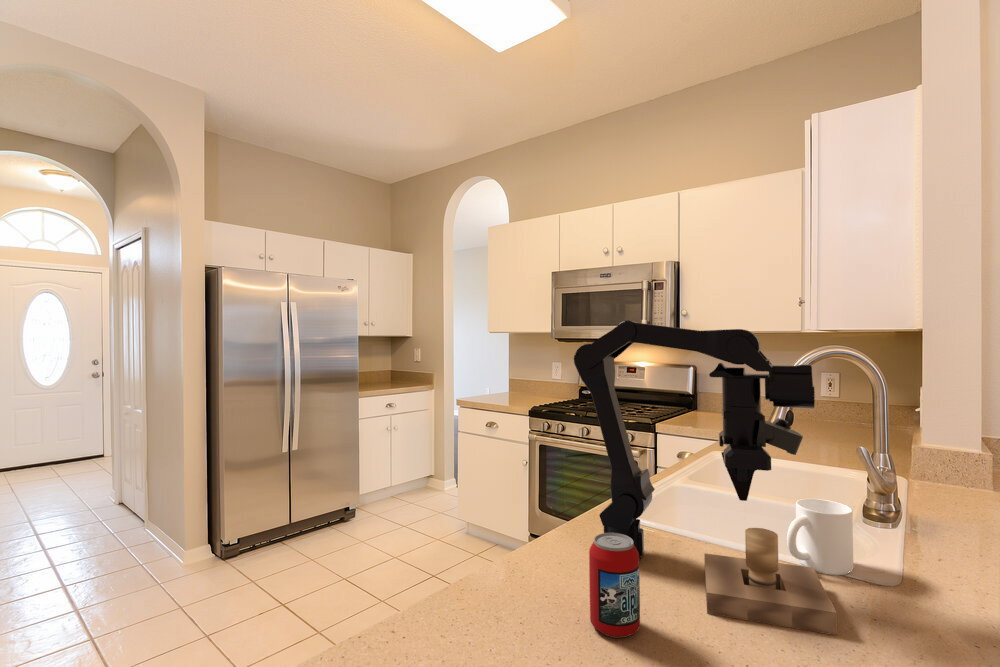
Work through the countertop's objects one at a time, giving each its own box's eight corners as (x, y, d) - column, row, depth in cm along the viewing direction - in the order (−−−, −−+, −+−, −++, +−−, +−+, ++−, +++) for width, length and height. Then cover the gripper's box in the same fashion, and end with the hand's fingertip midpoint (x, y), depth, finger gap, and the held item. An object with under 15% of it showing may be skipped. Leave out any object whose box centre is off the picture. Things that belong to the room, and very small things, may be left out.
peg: (748, 603, 75) (746, 536, 75) (745, 589, 79) (743, 526, 79) (781, 609, 73) (780, 540, 73) (776, 594, 77) (775, 529, 78)
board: (707, 613, 72) (706, 592, 72) (704, 570, 86) (704, 553, 86) (837, 635, 67) (836, 612, 67) (813, 586, 80) (812, 567, 80)
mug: (809, 583, 81) (808, 519, 81) (768, 561, 89) (767, 503, 89) (865, 572, 84) (864, 511, 84) (821, 552, 92) (820, 496, 92)
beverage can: (611, 647, 65) (610, 554, 65) (580, 621, 71) (579, 536, 71) (651, 633, 68) (649, 543, 68) (617, 609, 74) (616, 527, 74)
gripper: (810, 415, 71) (812, 526, 71) (786, 400, 89) (788, 488, 88) (724, 412, 75) (726, 516, 75) (718, 398, 93) (719, 482, 92)
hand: (743, 500), depth 83 cm, fingers closed
